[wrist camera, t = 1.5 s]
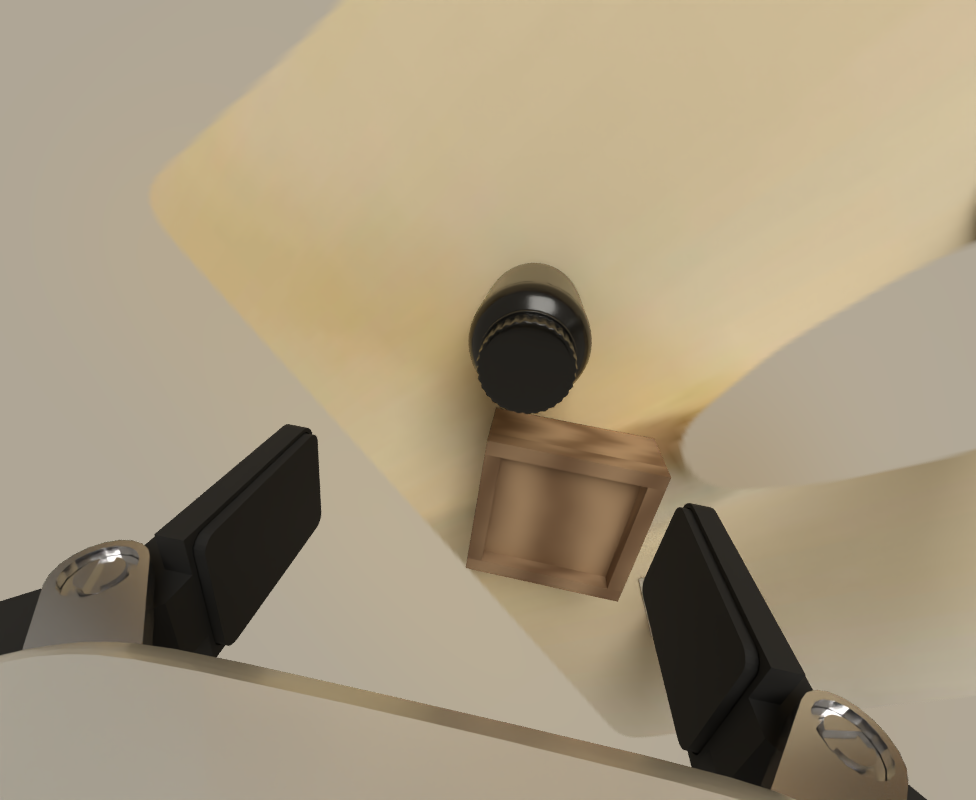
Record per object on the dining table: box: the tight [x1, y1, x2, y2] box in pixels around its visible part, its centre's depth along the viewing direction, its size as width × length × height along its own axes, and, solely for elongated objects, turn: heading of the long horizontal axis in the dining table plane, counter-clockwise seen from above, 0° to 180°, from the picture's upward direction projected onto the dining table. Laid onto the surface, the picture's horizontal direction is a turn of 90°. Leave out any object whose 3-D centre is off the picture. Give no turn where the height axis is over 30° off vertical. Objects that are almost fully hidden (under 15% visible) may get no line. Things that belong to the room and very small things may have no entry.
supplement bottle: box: [469, 263, 592, 414], centre depth 25 cm, size 7×7×12 cm
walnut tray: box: [466, 408, 671, 602], centre depth 34 cm, size 13×13×5 cm
